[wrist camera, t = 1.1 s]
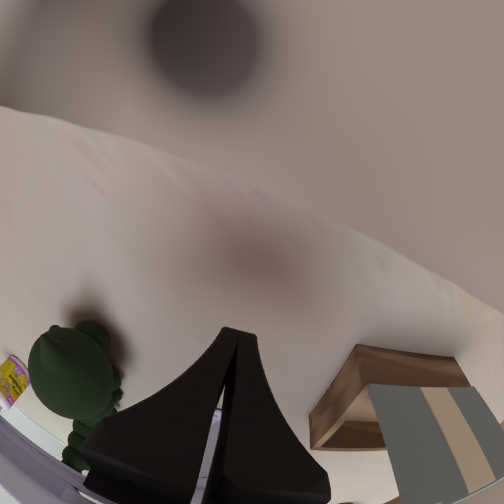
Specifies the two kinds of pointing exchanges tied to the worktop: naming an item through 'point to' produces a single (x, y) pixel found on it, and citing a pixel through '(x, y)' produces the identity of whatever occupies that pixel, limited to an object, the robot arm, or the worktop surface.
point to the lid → (439, 441)
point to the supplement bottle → (12, 381)
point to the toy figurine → (75, 381)
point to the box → (358, 400)
